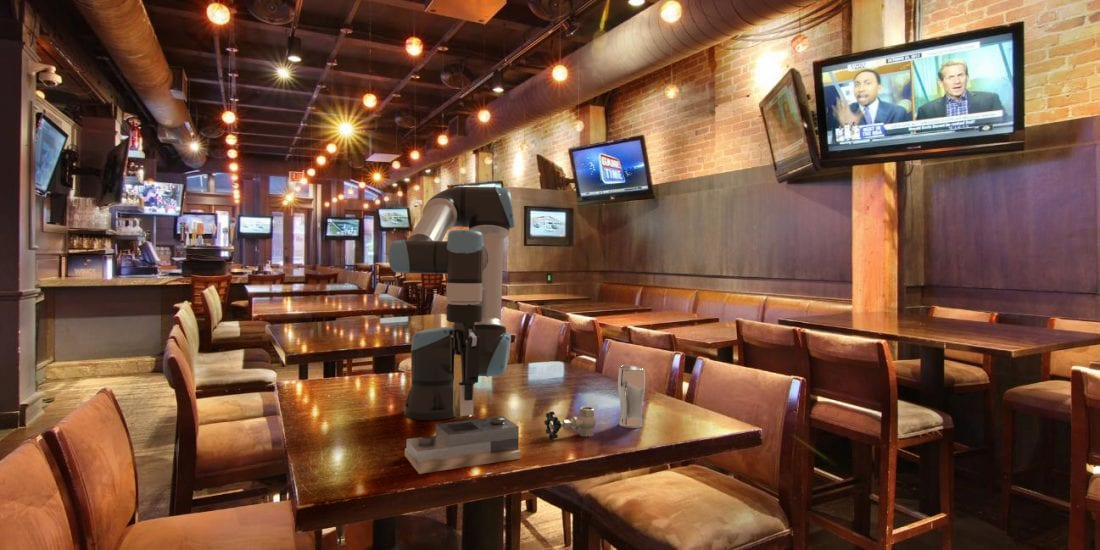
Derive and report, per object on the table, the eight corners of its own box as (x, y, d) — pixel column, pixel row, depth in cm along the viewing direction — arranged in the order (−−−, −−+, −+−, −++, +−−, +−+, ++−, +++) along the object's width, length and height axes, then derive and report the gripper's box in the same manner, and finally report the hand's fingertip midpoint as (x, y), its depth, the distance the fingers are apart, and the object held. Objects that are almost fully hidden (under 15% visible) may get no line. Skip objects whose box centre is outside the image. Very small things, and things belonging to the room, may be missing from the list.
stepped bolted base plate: (417, 463, 118) (417, 434, 118) (406, 450, 126) (406, 422, 126) (518, 449, 128) (518, 421, 128) (502, 437, 136) (502, 411, 136)
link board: (419, 473, 117) (419, 466, 117) (404, 455, 128) (404, 448, 128) (521, 458, 127) (521, 451, 127) (499, 442, 138) (499, 436, 138)
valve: (587, 430, 149) (543, 435, 144) (588, 404, 149) (544, 408, 144) (600, 437, 143) (555, 443, 138) (601, 410, 143) (555, 415, 138)
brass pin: (449, 416, 126) (450, 355, 126) (459, 411, 130) (460, 352, 129) (466, 418, 124) (467, 356, 124) (475, 414, 128) (476, 353, 128)
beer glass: (643, 429, 150) (644, 370, 150) (615, 427, 151) (617, 369, 151) (644, 422, 157) (646, 365, 156) (618, 420, 158) (619, 364, 158)
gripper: (495, 305, 121) (494, 420, 121) (468, 300, 136) (466, 402, 136) (460, 306, 117) (458, 424, 118) (436, 300, 132) (434, 405, 133)
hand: (463, 412), depth 127 cm, fingers closed on brass pin, 4 cm apart
